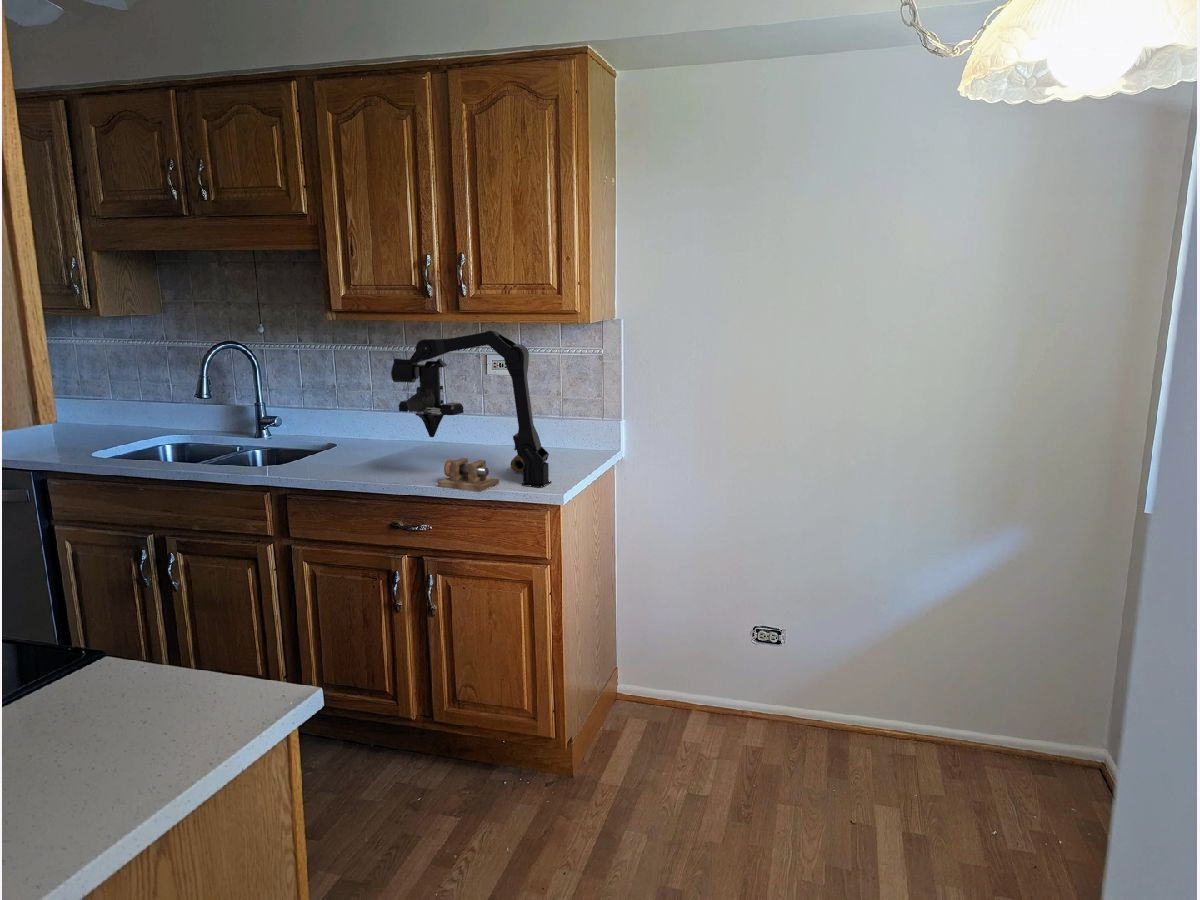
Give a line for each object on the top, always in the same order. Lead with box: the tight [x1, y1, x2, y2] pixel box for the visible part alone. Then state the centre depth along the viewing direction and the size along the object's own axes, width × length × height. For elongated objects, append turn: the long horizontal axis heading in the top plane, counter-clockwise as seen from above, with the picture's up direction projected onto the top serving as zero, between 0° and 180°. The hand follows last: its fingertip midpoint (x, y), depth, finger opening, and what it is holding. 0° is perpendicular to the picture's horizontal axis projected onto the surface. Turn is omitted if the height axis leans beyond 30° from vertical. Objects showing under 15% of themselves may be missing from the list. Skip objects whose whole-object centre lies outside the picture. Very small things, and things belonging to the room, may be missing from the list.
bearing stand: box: [437, 457, 500, 493], centre depth 242 cm, size 14×10×7 cm
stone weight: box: [510, 454, 524, 474], centre depth 262 cm, size 15×7×7 cm, turn 165°
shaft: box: [443, 458, 490, 478], centre depth 242 cm, size 12×5×5 cm, turn 65°
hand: (431, 437), depth 245 cm, fingers closed
